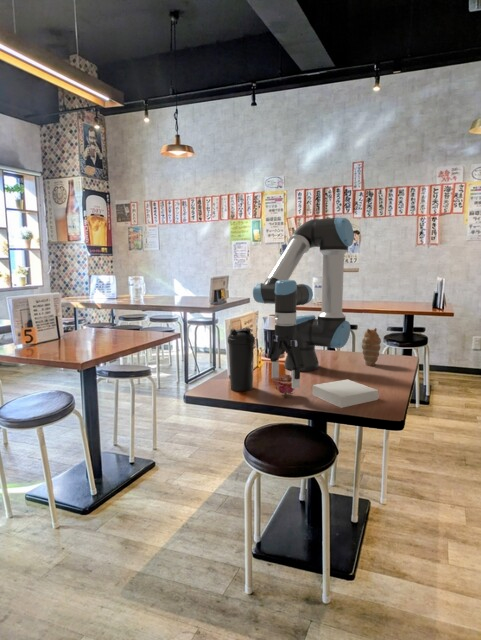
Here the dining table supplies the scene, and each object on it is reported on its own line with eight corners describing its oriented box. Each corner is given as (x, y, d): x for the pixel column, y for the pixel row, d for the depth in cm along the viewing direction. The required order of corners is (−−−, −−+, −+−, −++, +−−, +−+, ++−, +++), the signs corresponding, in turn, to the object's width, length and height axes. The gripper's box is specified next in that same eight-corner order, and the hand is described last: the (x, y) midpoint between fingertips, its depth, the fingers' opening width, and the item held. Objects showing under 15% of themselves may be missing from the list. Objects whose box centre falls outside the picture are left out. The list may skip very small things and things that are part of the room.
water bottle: (257, 391, 169) (256, 330, 166) (230, 392, 167) (229, 331, 164) (252, 383, 179) (251, 326, 176) (226, 385, 177) (225, 327, 174)
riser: (312, 395, 162) (312, 385, 162) (347, 389, 169) (347, 379, 169) (341, 408, 148) (341, 397, 148) (378, 401, 155) (378, 390, 155)
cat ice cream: (369, 370, 197) (370, 330, 194) (356, 367, 204) (357, 327, 201) (384, 368, 201) (385, 328, 199) (371, 364, 208) (372, 326, 206)
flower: (297, 401, 156) (297, 378, 155) (271, 400, 158) (270, 378, 157) (298, 393, 166) (298, 372, 165) (273, 392, 168) (273, 371, 166)
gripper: (258, 320, 168) (259, 376, 171) (296, 329, 146) (295, 393, 148) (276, 319, 171) (276, 374, 174) (315, 328, 149) (314, 390, 152)
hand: (285, 383), depth 161 cm, fingers open, 13 cm apart
